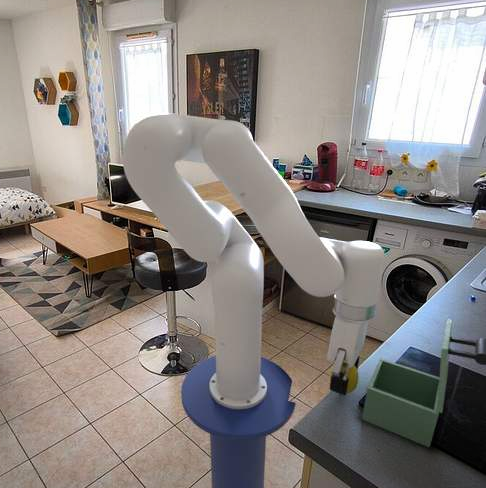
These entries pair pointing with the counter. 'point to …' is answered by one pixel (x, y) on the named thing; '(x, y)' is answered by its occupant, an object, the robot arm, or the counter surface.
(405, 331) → the counter surface
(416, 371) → the box
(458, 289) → the counter surface
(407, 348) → the counter surface
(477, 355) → the lid
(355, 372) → the lemon
